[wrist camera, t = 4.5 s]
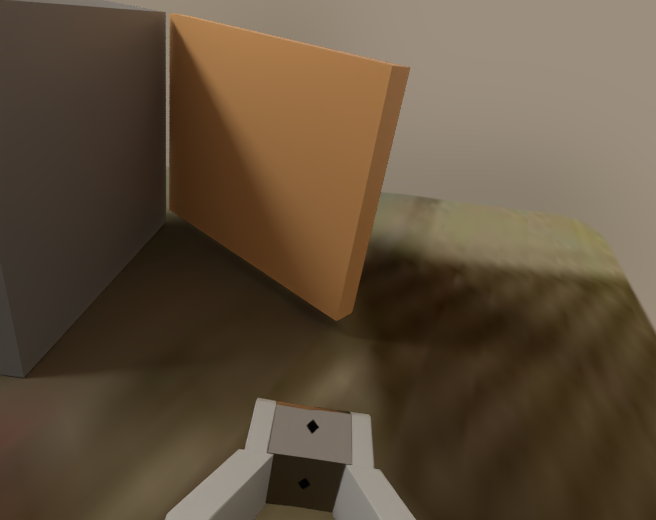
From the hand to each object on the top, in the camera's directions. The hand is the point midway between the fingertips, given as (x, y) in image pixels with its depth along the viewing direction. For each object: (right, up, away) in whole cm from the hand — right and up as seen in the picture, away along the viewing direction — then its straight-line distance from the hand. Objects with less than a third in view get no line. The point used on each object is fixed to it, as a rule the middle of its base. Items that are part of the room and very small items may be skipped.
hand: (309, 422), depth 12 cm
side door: (-5, +5, +20) cm, 21 cm away
